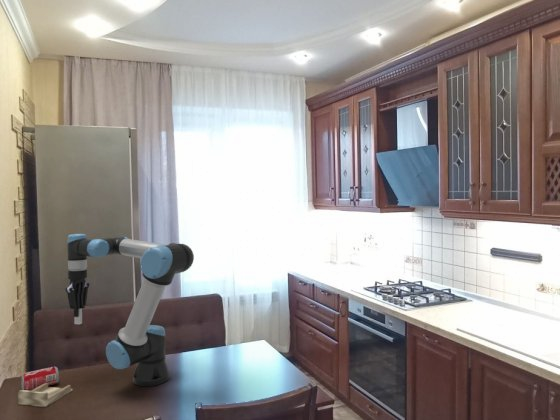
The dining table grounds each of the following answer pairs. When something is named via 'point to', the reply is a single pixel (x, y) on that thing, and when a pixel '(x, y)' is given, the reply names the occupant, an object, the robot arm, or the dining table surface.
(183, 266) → the robot arm
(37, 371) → the soda can
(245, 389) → the dining table surface
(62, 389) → the tray
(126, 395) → the dining table surface
